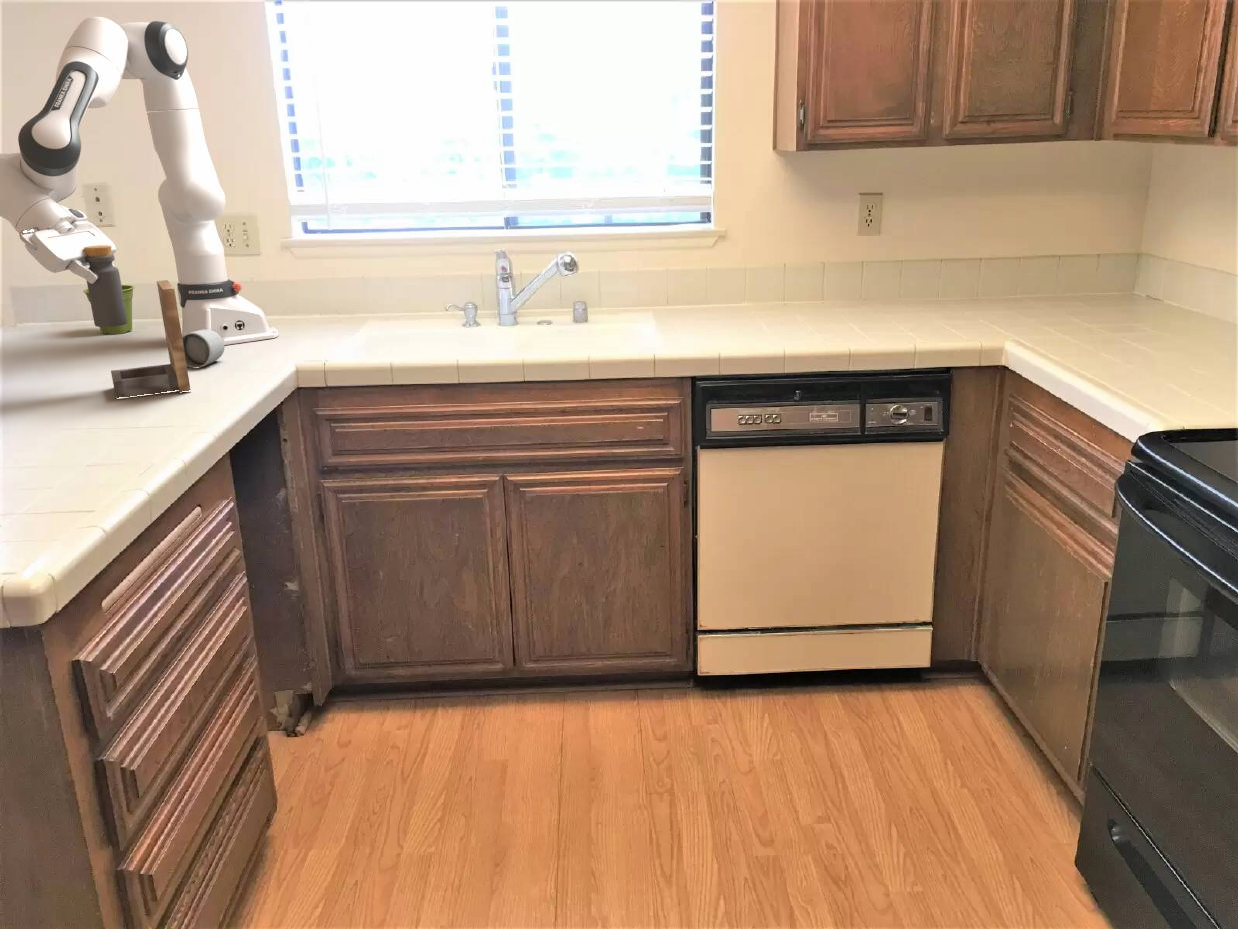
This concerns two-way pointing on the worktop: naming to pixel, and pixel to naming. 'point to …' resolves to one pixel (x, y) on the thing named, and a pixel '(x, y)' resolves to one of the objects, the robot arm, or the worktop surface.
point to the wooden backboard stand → (160, 375)
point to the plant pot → (128, 297)
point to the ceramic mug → (202, 347)
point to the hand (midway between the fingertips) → (106, 278)
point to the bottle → (105, 288)
